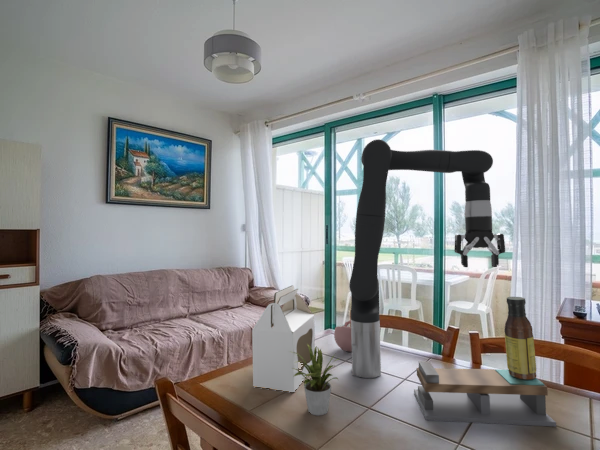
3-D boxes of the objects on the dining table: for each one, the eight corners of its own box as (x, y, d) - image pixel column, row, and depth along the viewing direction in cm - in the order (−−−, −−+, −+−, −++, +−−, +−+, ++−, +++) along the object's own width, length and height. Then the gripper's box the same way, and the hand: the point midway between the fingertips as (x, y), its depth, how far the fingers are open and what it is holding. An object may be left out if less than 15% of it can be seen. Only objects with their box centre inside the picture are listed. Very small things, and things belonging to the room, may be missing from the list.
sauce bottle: (527, 371, 89) (524, 295, 89) (542, 381, 83) (538, 299, 83) (501, 371, 90) (498, 295, 90) (514, 381, 83) (510, 300, 84)
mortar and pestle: (369, 347, 134) (368, 318, 134) (361, 358, 123) (360, 326, 123) (339, 344, 139) (339, 316, 139) (330, 354, 128) (329, 323, 128)
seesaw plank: (425, 391, 84) (424, 375, 84) (416, 375, 94) (416, 360, 94) (547, 395, 80) (546, 378, 81) (525, 377, 90) (524, 362, 91)
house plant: (279, 401, 93) (278, 341, 93) (324, 391, 98) (323, 334, 98) (300, 429, 79) (299, 358, 80) (351, 415, 85) (349, 349, 85)
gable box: (293, 393, 97) (291, 295, 98) (252, 388, 101) (250, 294, 102) (315, 364, 118) (314, 284, 119) (280, 361, 122) (279, 283, 123)
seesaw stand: (425, 420, 82) (425, 396, 82) (414, 392, 96) (413, 372, 96) (556, 426, 78) (555, 401, 78) (524, 397, 92) (523, 376, 92)
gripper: (458, 215, 104) (460, 268, 104) (508, 214, 102) (509, 268, 102) (450, 216, 112) (452, 266, 111) (497, 215, 110) (498, 265, 109)
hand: (479, 267), depth 107 cm, fingers open, 8 cm apart
